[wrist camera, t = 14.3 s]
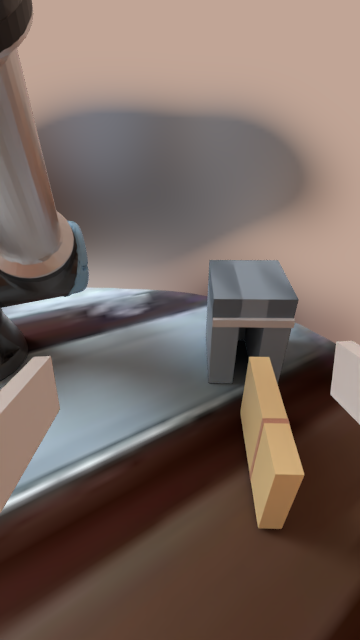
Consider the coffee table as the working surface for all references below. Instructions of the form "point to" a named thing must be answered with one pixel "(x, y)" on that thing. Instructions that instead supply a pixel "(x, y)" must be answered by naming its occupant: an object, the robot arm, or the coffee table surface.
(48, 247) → the robot arm
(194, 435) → the coffee table surface
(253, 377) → the taped cardboard box
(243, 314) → the dispenser
